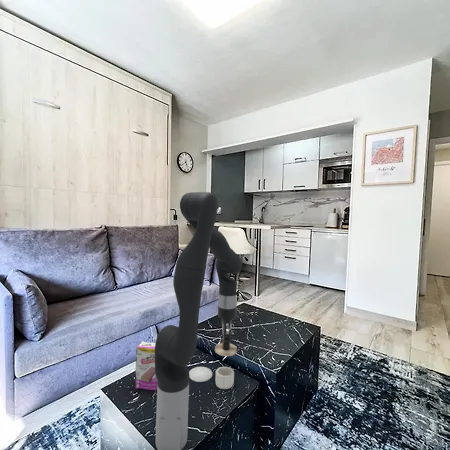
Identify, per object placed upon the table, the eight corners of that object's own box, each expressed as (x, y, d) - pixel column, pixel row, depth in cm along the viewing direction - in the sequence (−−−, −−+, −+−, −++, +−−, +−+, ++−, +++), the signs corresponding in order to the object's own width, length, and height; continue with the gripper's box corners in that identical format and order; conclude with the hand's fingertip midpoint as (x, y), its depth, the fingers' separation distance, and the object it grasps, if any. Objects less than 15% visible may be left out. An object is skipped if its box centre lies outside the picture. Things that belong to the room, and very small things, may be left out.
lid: (238, 356, 96) (238, 344, 96) (214, 356, 95) (215, 343, 95) (235, 344, 105) (236, 333, 104) (214, 344, 104) (215, 333, 104)
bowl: (235, 387, 98) (235, 375, 98) (218, 390, 96) (218, 377, 96) (230, 377, 104) (230, 365, 104) (213, 379, 102) (214, 368, 102)
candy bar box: (134, 389, 95) (135, 346, 94) (139, 381, 100) (141, 340, 99) (162, 392, 93) (163, 349, 93) (166, 384, 98) (168, 343, 98)
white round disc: (212, 382, 101) (212, 381, 101) (187, 381, 100) (187, 380, 100) (212, 367, 111) (212, 366, 111) (189, 367, 110) (189, 366, 110)
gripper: (238, 311, 93) (236, 357, 93) (235, 299, 107) (233, 339, 107) (218, 311, 92) (216, 356, 93) (217, 299, 107) (216, 339, 107)
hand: (225, 347), depth 100 cm, fingers closed on lid, 3 cm apart
